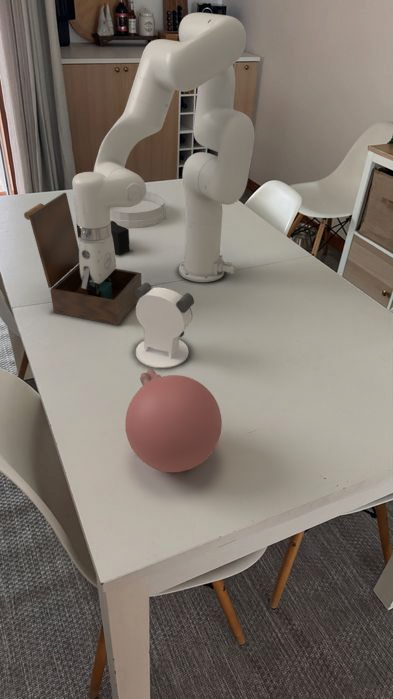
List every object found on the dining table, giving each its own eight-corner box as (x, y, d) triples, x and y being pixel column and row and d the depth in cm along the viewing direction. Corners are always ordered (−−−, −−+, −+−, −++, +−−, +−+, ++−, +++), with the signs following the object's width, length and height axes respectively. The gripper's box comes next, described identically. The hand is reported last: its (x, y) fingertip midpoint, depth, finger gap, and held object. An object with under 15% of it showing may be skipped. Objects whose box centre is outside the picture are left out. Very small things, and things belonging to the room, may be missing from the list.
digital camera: (133, 250, 151) (132, 227, 147) (119, 255, 147) (118, 233, 143) (109, 240, 156) (108, 218, 152) (95, 245, 153) (94, 223, 149)
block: (96, 295, 127) (94, 279, 124) (112, 298, 126) (111, 282, 123) (87, 304, 124) (86, 287, 121) (104, 307, 123) (103, 291, 120)
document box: (141, 294, 130) (141, 272, 126) (117, 325, 118) (115, 302, 114) (83, 284, 133) (80, 262, 129) (53, 312, 121) (50, 289, 118)
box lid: (66, 192, 119) (46, 192, 121) (31, 214, 108) (9, 214, 109) (81, 260, 129) (63, 259, 131) (51, 288, 117) (31, 286, 119)
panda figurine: (199, 346, 112) (202, 286, 103) (177, 374, 104) (178, 312, 95) (151, 332, 116) (150, 273, 107) (126, 359, 107) (122, 297, 99)
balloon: (192, 400, 97) (195, 334, 88) (232, 479, 82) (240, 409, 73) (113, 417, 93) (107, 349, 84) (140, 503, 78) (136, 432, 69)
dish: (163, 229, 164) (162, 214, 161) (94, 226, 164) (93, 211, 161) (167, 204, 182) (166, 191, 179) (105, 202, 182) (104, 188, 179)
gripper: (92, 247, 107) (98, 321, 117) (124, 219, 120) (127, 287, 131) (60, 242, 108) (69, 315, 119) (95, 215, 122) (101, 282, 132)
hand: (100, 300), depth 125 cm, fingers closed on block, 4 cm apart
